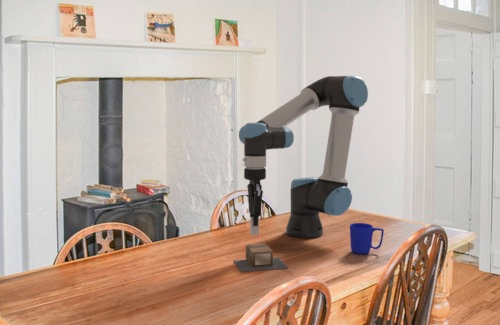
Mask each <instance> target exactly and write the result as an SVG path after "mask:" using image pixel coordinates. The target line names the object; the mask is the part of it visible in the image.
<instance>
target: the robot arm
mask: <svg viewBox="0 0 500 325" xmlns="http://www.w3.org/2000/svg"><path fill="white" fill-rule="evenodd" d="M368 98H369V90H368V86H367V84H366V82H365V81H364V79H362V78H361V77H360V76H356V75H355V76H354V75H339V76H338V75H337V76H336V75H335V76H333V75H332V76H331V75H329V76H325V77H321V78H319V79H318V80H316V81H314V82H312V83H311V84H308V85H307V86H306V87H304V88H302V90H300V93H299V94H298V95H296V96H294V97H293V98H292V99H290V100H288V101H287V102H286V103H284V104H283V105H281V106H280V107H278V108H276V109H275V110H273V111H272V112H270V113H268V114H267V115H265V116H264V117H263V118H261V119H260V120H258V121H257V122H247V123H245V125H242V126H241V127H240V129H239V131H238V138H239V141H240V143H242V144H244V146H243V148H244V149H243V152H244V153H243V154H244V156H243V157H244V158H242V161H243V162H244V164H243V165H244V167H245V168H244V169H243V177H244V179H245V180H247V181H248V182H249V183H248V184H247V186H246V188H247V197H248V212H249V219H250V229H249V230H250V232H249V233H250V235H251V236H258V235H259V234H260V217H261V215H262V202H263V200H262V199H263V193H264V191H263V189H262V188H263V186H262V184H261V181H263V180H265V179H266V178H267V169H266V167H267V150H278V149H280V150H281V149H288V148H290V147H291V146H292V145H293V143H294V138H295V136H294V132H293V130H292V129H291V128H289V127H288V126H289V125H290V124H292V123H294V122H295V121H296V120H297V119H298V120H299V118H301V117H302V116H304V115H305V114H307V113H308V112H310V111H317V109H319V108H321V107H327V106H328V110H329V111H330V112H331V117H330V124H329V132H328V138H327V143H326V144H327V145H326V149H325V150H326V152H325V158H324V162H323V163H324V165H323V170H322V174H321V175H320V176H317V177H315V176H314V177H313V176H312V177H300V178H294V179H292V180H291V182H290V183H291V184H290V215H289V218H288V222H287V224H286V228H285V234H287V235H288V236H291V237H294V238H303V239H309V238H311V239H312V238H317V237H321V236H323V235H324V227H323V223H322V220H321V218H320V213H322V214H325V215H328V216H335V217H337V216H338V217H339V216H342V215H343V214H345V213H346V212H347V210H349V208H350V206H351V204H352V200H353V194H352V191H351V189H350V188H349V187H348V184H349V182H348V181H347V179H346V172H347V164H348V159H349V152H350V146H351V145H350V144H351V140H352V134H353V133H352V132H353V125H354V119H355V116H357V115H358V114H360V108H362V107H363V106H365V104H366V103H367V101H368Z"/></svg>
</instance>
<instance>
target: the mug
mask: <svg viewBox="0 0 500 325" xmlns="http://www.w3.org/2000/svg"><path fill="white" fill-rule="evenodd" d="M375 231H380V232H381V234H380V241H379V244H378V245H377V246H373V245H372V243H373V235H374V232H375ZM349 235H350V236H349V238H350V250H351V252H352V253H354V254H357V255H367V254H369V252H371V249H372V250H377V249H380V247H381V246H382V244H383V238H384V229H383V228H381V227H380V228H378V227H374V226H373V225H372V224H370V223H365V222H355V223H351V224H350V225H349Z"/></svg>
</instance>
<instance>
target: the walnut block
mask: <svg viewBox="0 0 500 325" xmlns="http://www.w3.org/2000/svg"><path fill="white" fill-rule="evenodd" d="M273 258H274V251H273V249H271V248H270V246H269V245H267V243H251V244H245V259H247V261H248V262H249V263H250V265H251V266H252V267H262V266H273Z"/></svg>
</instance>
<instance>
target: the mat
mask: <svg viewBox="0 0 500 325" xmlns="http://www.w3.org/2000/svg"><path fill="white" fill-rule="evenodd" d="M233 262H234V263H235V265H236V267H237V268H238V269H239V271H240V272H241V273H245V272H260V271H273V270H275V271H276V270H286V269H289V267H288V266H287V265H286V263H284V261H283V260H282V259H281V258H280V257H278V256H277V257H273V266H262V267H252V266H251V265H250V263H249V262H248V261H247V259H246V258H245V259H233Z"/></svg>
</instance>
